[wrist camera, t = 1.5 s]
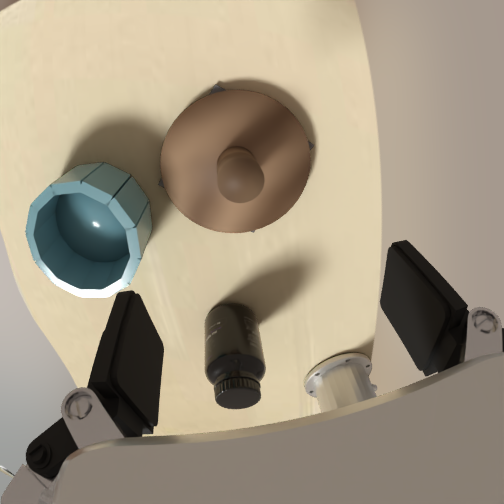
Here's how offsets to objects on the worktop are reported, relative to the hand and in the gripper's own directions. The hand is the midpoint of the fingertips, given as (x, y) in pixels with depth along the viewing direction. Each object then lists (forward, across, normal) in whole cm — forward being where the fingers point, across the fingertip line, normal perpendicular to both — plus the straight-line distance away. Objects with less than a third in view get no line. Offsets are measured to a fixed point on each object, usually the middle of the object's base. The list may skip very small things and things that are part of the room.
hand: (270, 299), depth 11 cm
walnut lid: (+20, 0, 0) cm, 20 cm away
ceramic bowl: (+20, +15, +3) cm, 25 cm away
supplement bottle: (+20, +4, +20) cm, 29 cm away
